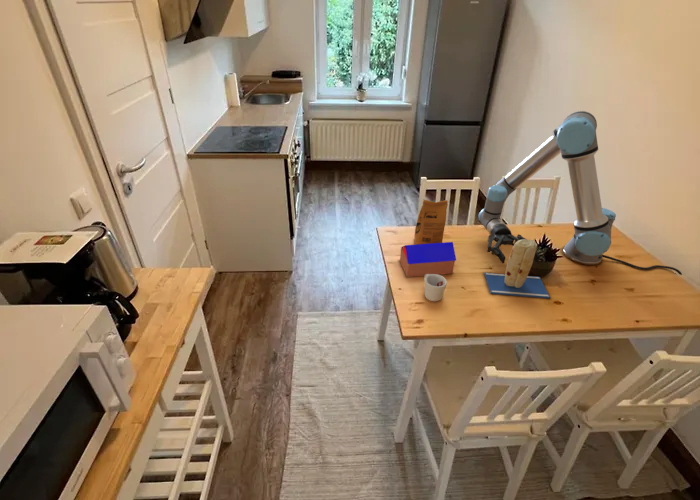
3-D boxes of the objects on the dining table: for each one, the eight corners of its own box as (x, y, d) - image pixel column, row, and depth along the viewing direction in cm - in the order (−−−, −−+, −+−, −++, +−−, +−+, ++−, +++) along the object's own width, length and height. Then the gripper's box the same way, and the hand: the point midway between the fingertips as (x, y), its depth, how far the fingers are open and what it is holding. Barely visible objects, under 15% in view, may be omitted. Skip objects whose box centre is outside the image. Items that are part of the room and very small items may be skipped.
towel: (539, 277, 157) (539, 276, 156) (549, 298, 146) (550, 297, 145) (484, 273, 158) (484, 272, 158) (490, 293, 147) (491, 292, 147)
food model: (519, 277, 156) (533, 235, 144) (529, 287, 150) (544, 244, 139) (497, 280, 153) (510, 238, 142) (507, 291, 148) (521, 247, 137)
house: (453, 273, 158) (458, 250, 151) (406, 277, 155) (409, 253, 148) (443, 257, 168) (447, 234, 161) (398, 260, 165) (401, 237, 158)
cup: (414, 288, 149) (417, 271, 145) (432, 284, 152) (435, 267, 147) (429, 306, 141) (432, 289, 136) (447, 301, 143) (451, 284, 139)
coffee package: (413, 236, 181) (418, 194, 169) (439, 238, 181) (447, 195, 169) (414, 248, 173) (420, 204, 161) (442, 250, 172) (450, 206, 160)
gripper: (524, 238, 166) (549, 266, 149) (468, 239, 164) (487, 268, 147) (529, 223, 162) (555, 250, 145) (472, 224, 160) (491, 252, 143)
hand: (521, 259), depth 146 cm, fingers open, 13 cm apart
